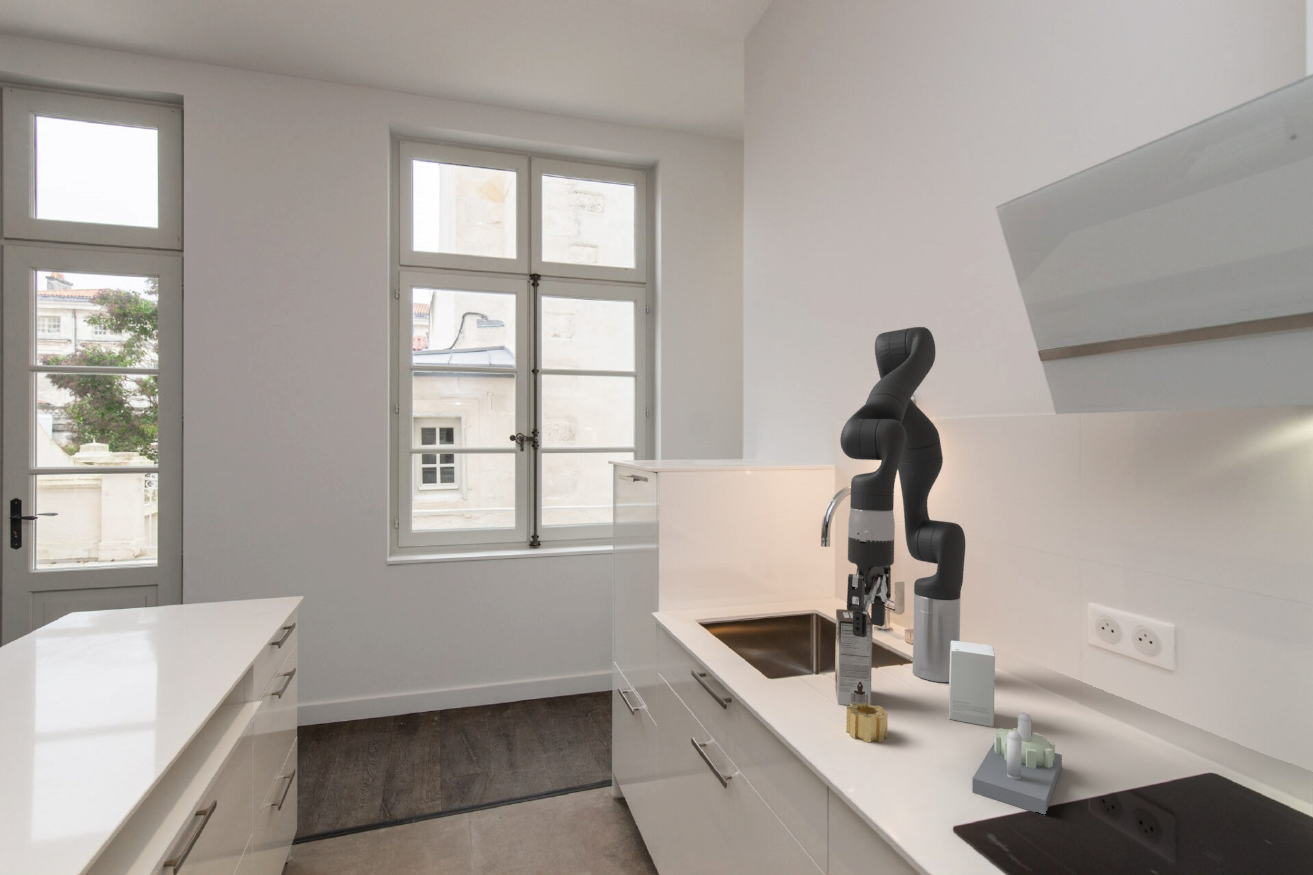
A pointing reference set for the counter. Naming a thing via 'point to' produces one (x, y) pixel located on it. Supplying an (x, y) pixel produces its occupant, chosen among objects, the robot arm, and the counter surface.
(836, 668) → the coffee box
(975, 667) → the supplement box
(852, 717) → the brass gear
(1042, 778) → the gear board
